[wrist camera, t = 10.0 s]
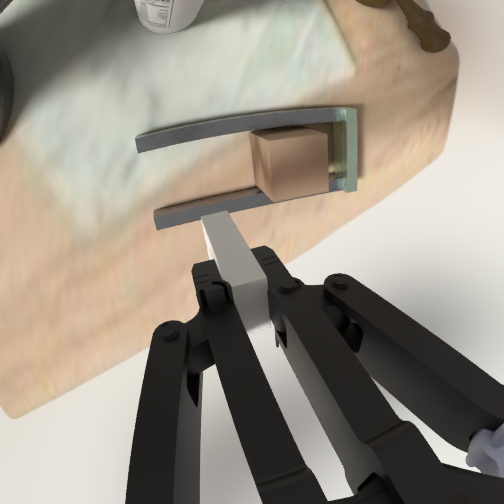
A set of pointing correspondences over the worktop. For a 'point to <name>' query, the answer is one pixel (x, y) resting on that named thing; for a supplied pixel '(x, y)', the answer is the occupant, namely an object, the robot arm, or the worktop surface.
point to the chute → (255, 197)
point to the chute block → (290, 162)
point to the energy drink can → (167, 14)
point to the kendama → (419, 24)
